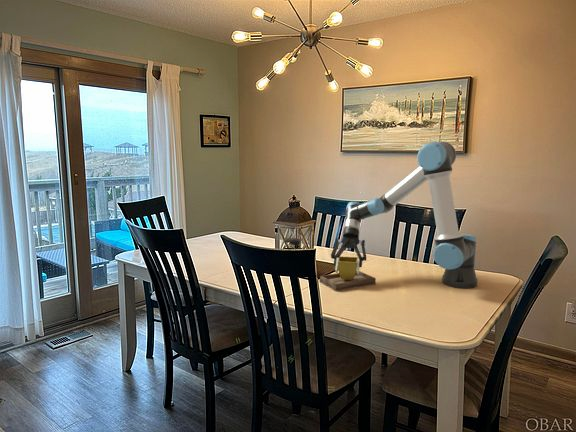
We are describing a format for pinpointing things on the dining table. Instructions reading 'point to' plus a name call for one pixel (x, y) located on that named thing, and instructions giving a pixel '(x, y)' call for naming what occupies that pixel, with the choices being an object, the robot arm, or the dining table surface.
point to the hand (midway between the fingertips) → (346, 272)
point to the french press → (293, 241)
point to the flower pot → (347, 267)
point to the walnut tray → (347, 281)
